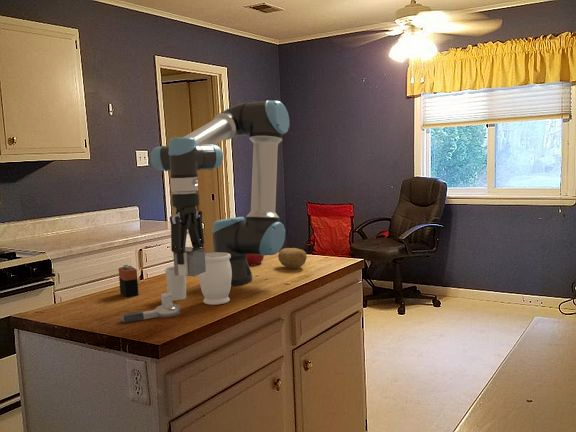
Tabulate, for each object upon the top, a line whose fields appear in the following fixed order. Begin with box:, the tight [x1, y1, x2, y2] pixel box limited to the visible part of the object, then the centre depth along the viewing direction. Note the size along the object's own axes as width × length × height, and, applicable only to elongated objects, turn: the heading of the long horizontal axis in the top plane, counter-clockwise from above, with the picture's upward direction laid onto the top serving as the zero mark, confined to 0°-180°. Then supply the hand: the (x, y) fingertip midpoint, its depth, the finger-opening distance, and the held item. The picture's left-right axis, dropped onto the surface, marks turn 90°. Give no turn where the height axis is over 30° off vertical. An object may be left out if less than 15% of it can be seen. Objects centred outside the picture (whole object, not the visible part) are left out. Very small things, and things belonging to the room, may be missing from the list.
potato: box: [277, 247, 307, 269], centre depth 219 cm, size 10×14×8 cm
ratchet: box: [121, 292, 181, 324], centre depth 159 cm, size 16×7×6 cm, turn 119°
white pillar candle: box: [164, 265, 187, 301], centre depth 179 cm, size 7×7×10 cm
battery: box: [118, 264, 139, 298], centre depth 186 cm, size 4×7×10 cm, turn 35°
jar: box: [198, 252, 232, 306], centre depth 172 cm, size 11×10×15 cm
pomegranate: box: [246, 254, 265, 266], centre depth 230 cm, size 10×10×9 cm
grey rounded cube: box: [172, 246, 206, 277], centre depth 157 cm, size 6×6×7 cm
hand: (190, 272), depth 157 cm, fingers closed on grey rounded cube, 6 cm apart
